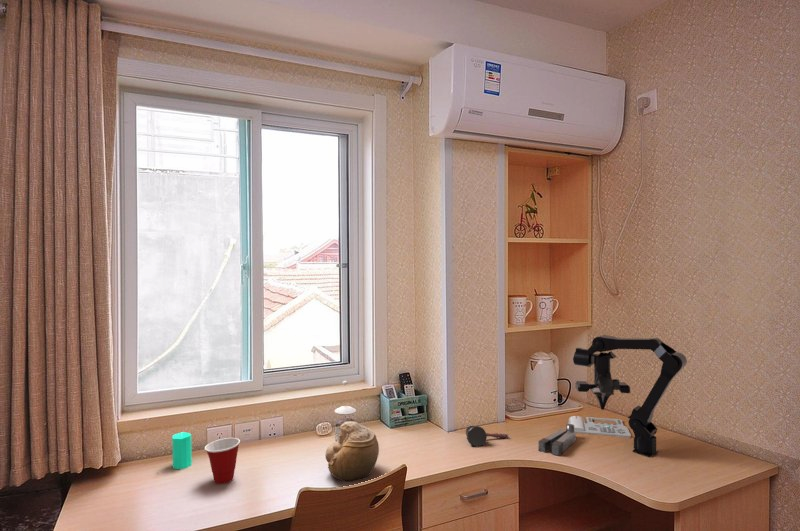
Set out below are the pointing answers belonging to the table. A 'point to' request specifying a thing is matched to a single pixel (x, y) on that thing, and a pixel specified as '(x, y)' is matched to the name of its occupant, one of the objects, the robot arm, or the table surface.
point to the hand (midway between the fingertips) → (602, 409)
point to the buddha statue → (353, 452)
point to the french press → (343, 411)
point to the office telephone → (599, 427)
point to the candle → (182, 450)
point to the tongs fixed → (553, 438)
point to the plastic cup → (223, 458)
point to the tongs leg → (563, 442)
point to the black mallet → (480, 435)
